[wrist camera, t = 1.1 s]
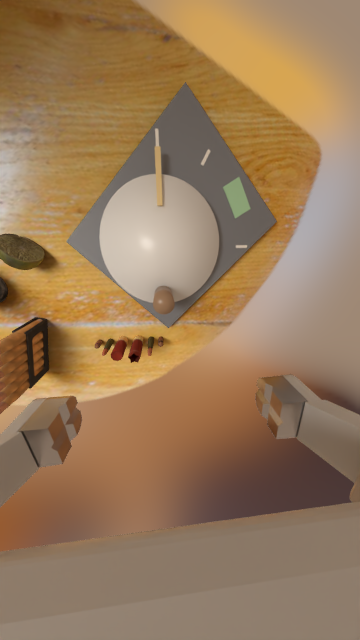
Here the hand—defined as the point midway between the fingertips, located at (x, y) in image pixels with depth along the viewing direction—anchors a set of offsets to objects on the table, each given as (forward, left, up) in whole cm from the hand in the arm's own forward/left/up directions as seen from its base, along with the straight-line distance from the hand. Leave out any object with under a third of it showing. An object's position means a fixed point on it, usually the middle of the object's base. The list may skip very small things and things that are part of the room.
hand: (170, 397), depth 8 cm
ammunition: (+2, -11, -25) cm, 27 cm away
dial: (-6, +6, -23) cm, 24 cm away
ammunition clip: (-9, -22, -24) cm, 34 cm away
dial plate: (-5, +8, -24) cm, 26 cm away
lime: (-18, -9, -24) cm, 31 cm away
